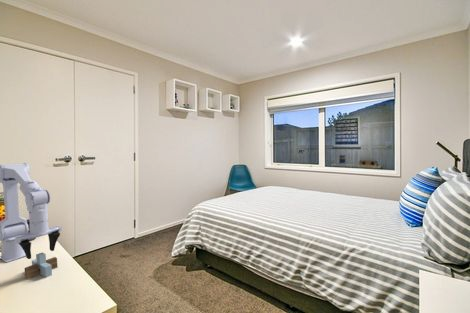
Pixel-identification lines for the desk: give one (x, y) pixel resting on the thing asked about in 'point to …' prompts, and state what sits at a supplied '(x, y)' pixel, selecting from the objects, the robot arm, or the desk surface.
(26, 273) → the brown notched wooden bar
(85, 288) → the desk surface
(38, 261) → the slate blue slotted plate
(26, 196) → the robot arm
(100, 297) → the desk surface
